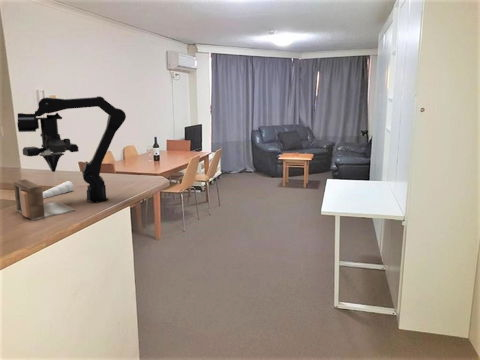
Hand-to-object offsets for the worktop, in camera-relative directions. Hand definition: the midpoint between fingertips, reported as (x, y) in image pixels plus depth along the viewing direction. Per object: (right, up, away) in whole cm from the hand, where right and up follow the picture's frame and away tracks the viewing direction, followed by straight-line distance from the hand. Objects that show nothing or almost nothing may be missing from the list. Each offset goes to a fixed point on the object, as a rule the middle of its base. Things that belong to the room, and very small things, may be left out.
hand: (53, 171), depth 149 cm
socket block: (0, -15, -6) cm, 16 cm away
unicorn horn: (-8, -11, +14) cm, 19 cm away
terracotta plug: (-1, -15, -13) cm, 20 cm away
